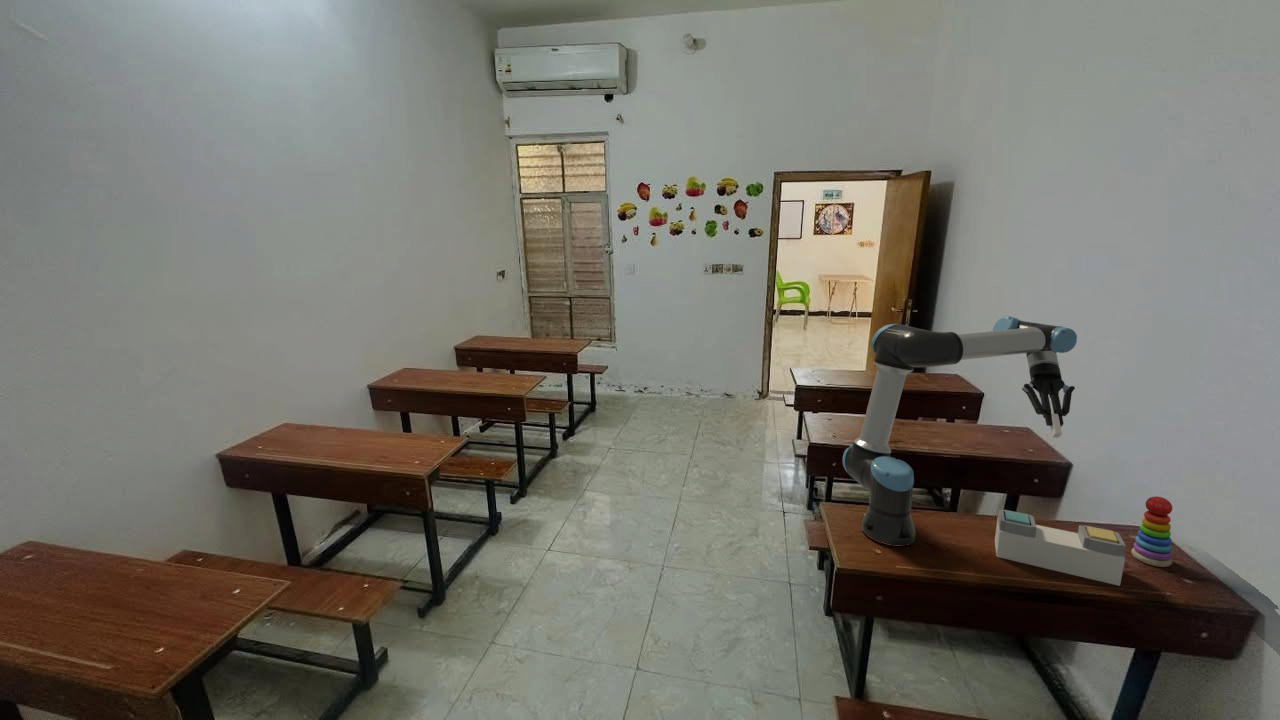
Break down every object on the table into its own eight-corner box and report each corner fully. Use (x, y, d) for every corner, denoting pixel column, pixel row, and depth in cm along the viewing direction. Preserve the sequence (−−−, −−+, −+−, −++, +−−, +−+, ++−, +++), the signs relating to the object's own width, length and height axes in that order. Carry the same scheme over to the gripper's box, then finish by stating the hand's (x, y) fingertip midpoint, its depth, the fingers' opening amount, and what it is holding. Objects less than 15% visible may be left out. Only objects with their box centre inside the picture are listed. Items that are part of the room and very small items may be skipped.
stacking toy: (1153, 551, 140) (1165, 491, 136) (1180, 569, 132) (1193, 505, 129) (1122, 550, 141) (1133, 490, 137) (1148, 568, 133) (1160, 505, 130)
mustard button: (1089, 547, 130) (1091, 535, 130) (1084, 537, 135) (1086, 526, 134) (1115, 553, 128) (1117, 540, 127) (1110, 543, 132) (1112, 531, 131)
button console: (996, 556, 141) (1000, 521, 138) (994, 541, 148) (998, 507, 146) (1120, 586, 127) (1127, 547, 125) (1111, 567, 134) (1117, 530, 132)
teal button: (1005, 529, 140) (1006, 518, 139) (1003, 521, 144) (1005, 510, 143) (1028, 534, 137) (1029, 523, 136) (1026, 525, 141) (1027, 514, 141)
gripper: (1064, 375, 156) (1079, 443, 145) (1015, 373, 161) (1025, 438, 150) (1074, 362, 151) (1090, 432, 139) (1022, 360, 155) (1034, 427, 144)
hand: (1057, 435), depth 144 cm, fingers closed
